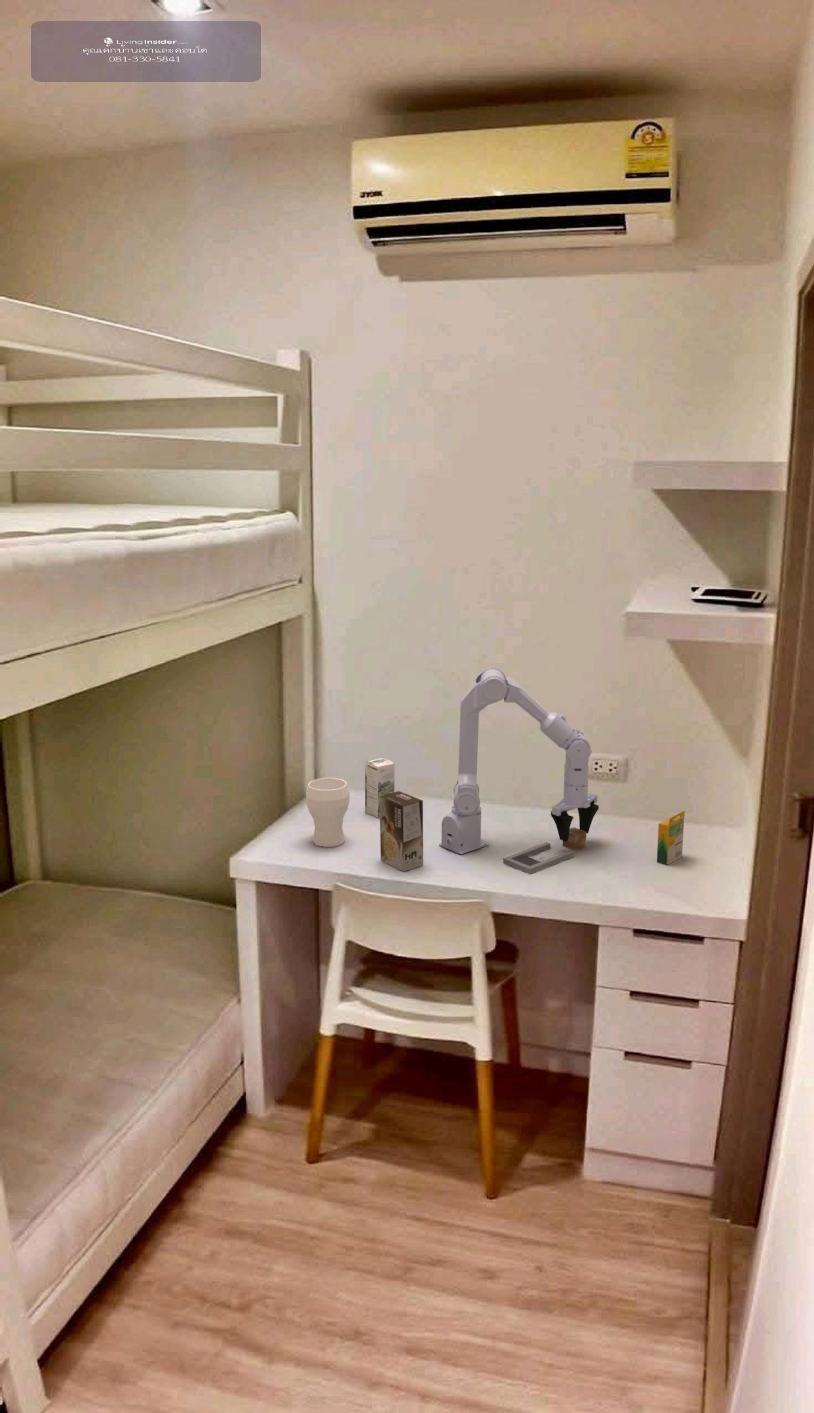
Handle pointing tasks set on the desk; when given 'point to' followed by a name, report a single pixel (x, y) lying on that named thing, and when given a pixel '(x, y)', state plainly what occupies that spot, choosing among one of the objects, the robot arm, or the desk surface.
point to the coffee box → (401, 830)
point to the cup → (328, 809)
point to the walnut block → (575, 839)
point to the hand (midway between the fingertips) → (574, 836)
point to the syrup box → (378, 783)
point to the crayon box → (670, 839)
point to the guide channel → (514, 863)
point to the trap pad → (528, 861)
